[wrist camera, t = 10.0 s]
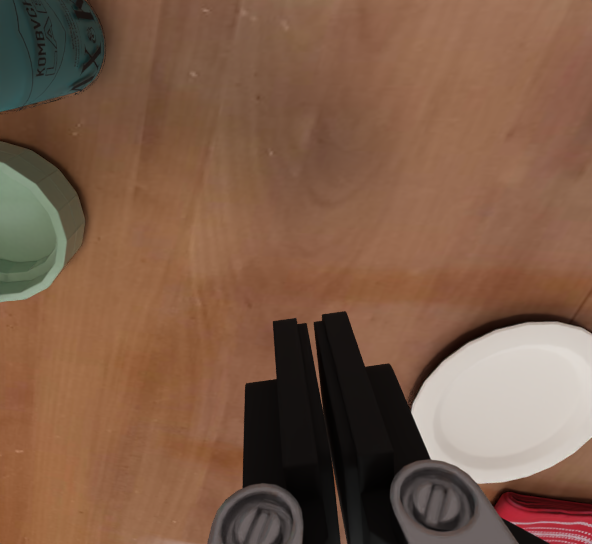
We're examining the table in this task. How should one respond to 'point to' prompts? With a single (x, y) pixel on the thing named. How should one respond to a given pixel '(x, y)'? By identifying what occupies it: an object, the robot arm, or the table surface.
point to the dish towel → (548, 518)
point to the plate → (509, 401)
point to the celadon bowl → (34, 223)
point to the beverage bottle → (47, 50)
